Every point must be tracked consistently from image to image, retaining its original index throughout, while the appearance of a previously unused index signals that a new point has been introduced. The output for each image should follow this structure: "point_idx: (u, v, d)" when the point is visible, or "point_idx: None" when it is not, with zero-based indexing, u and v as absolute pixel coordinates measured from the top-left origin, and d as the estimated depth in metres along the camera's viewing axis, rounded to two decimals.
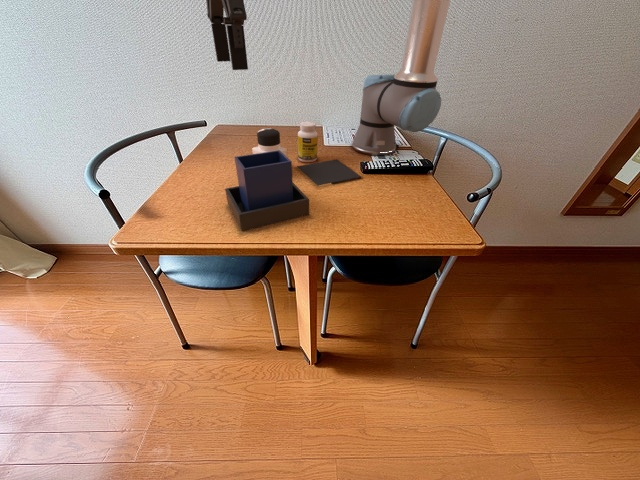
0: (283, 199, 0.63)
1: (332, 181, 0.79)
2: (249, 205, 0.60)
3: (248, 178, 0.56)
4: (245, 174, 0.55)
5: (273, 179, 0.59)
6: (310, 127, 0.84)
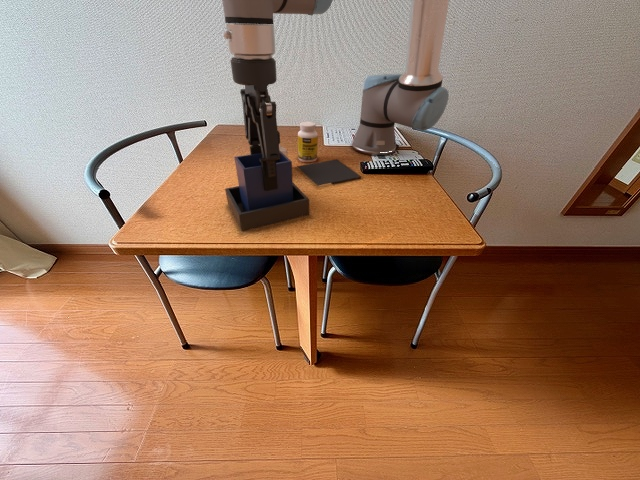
0: (283, 199, 0.63)
1: (332, 181, 0.79)
2: (249, 205, 0.60)
3: (248, 178, 0.56)
4: (245, 174, 0.55)
5: None
6: (310, 127, 0.84)
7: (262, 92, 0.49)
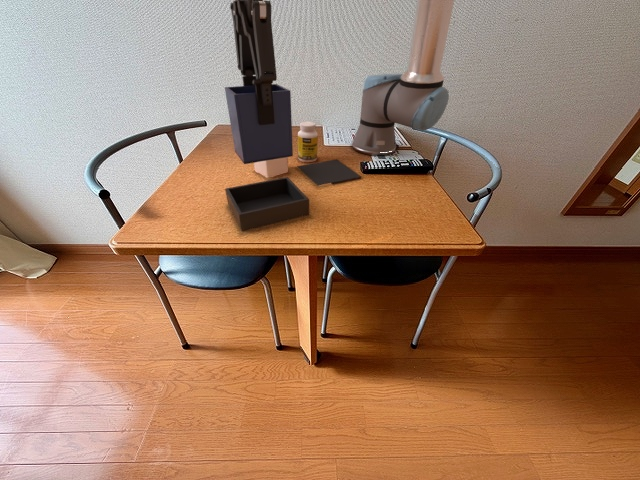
0: (281, 139, 0.55)
1: (332, 181, 0.79)
2: (242, 143, 0.52)
3: (240, 107, 0.48)
4: (236, 101, 0.48)
5: None
6: (310, 127, 0.84)
7: None
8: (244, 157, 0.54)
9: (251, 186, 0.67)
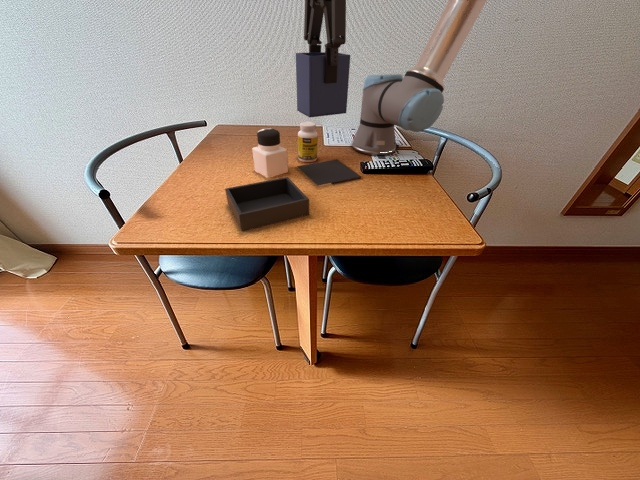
0: (339, 97, 0.67)
1: (332, 181, 0.79)
2: (310, 98, 0.64)
3: (312, 67, 0.60)
4: (310, 62, 0.59)
5: None
6: (310, 127, 0.84)
7: None
8: (310, 111, 0.65)
9: (251, 186, 0.67)
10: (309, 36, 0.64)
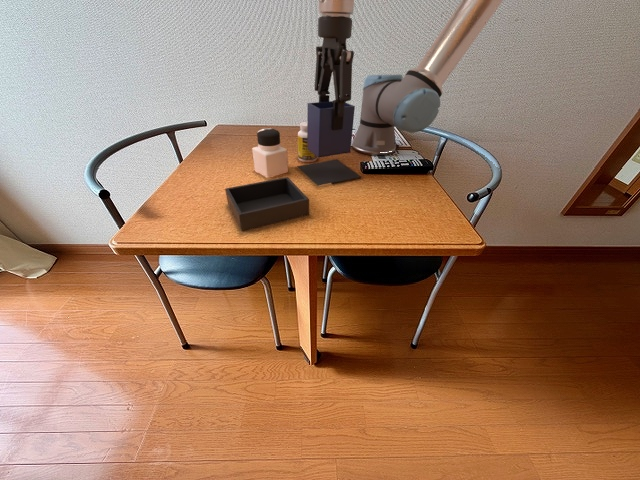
0: (344, 140, 0.77)
1: (332, 181, 0.79)
2: (319, 142, 0.74)
3: (322, 117, 0.70)
4: (320, 114, 0.69)
5: None
6: None
7: (342, 43, 0.63)
8: (319, 152, 0.75)
9: (251, 186, 0.67)
10: (319, 89, 0.74)
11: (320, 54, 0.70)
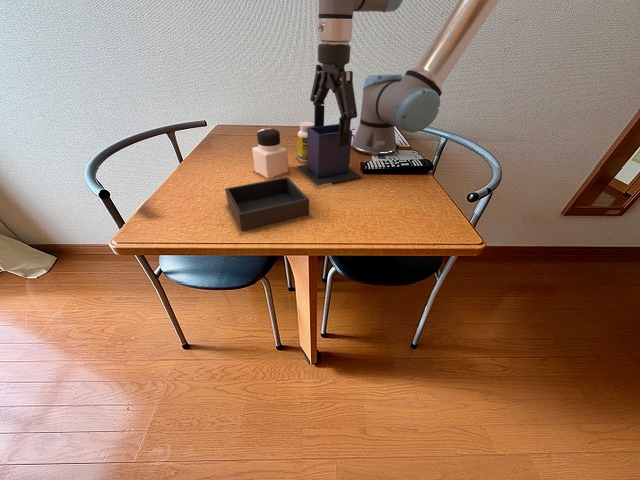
0: (342, 162, 0.80)
1: (332, 181, 0.79)
2: (319, 165, 0.77)
3: (321, 142, 0.74)
4: (319, 139, 0.73)
5: (337, 144, 0.77)
6: None
7: (341, 69, 0.66)
8: (318, 174, 0.79)
9: (251, 186, 0.67)
10: (315, 101, 0.78)
11: (319, 73, 0.73)
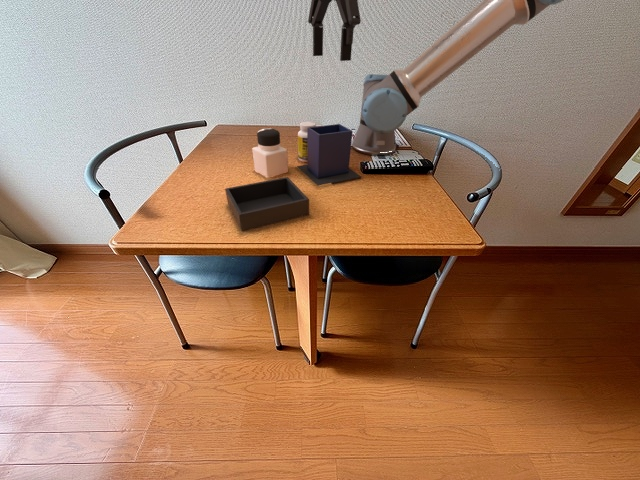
0: (342, 162, 0.80)
1: (332, 181, 0.79)
2: (319, 165, 0.77)
3: (321, 142, 0.74)
4: (319, 139, 0.73)
5: (337, 144, 0.77)
6: None
7: None
8: (318, 174, 0.79)
9: (251, 186, 0.67)
10: (313, 20, 0.76)
11: None
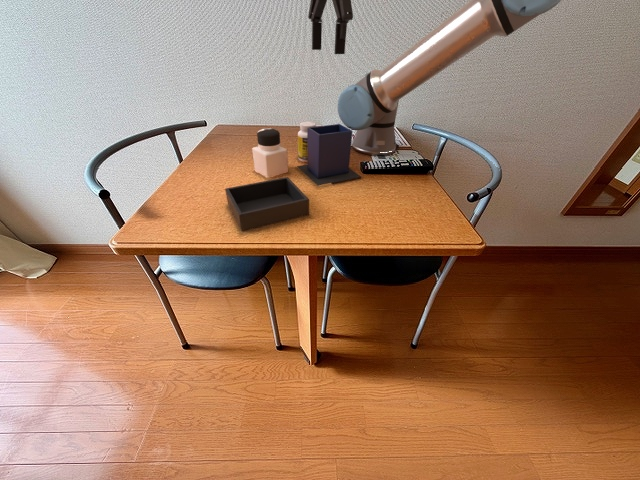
0: (342, 162, 0.80)
1: (332, 181, 0.79)
2: (319, 165, 0.77)
3: (321, 142, 0.74)
4: (319, 139, 0.73)
5: (337, 144, 0.77)
6: None
7: None
8: (318, 174, 0.79)
9: (251, 186, 0.67)
10: (313, 16, 0.81)
11: None
